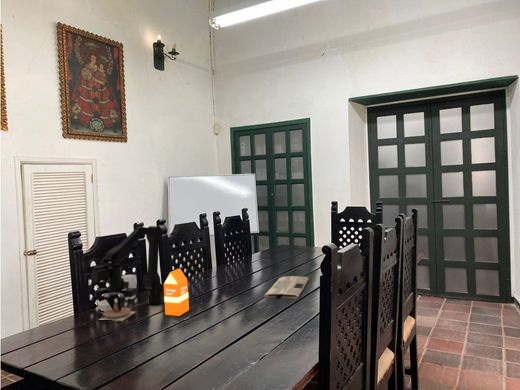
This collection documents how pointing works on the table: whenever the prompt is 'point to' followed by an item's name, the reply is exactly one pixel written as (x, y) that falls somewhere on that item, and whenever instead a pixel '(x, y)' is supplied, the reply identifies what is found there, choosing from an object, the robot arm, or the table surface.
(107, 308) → the bowl
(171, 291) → the orange juice
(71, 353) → the table surface
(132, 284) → the cup
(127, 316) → the mat
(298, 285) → the newspaper
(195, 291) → the table surface
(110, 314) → the lid
